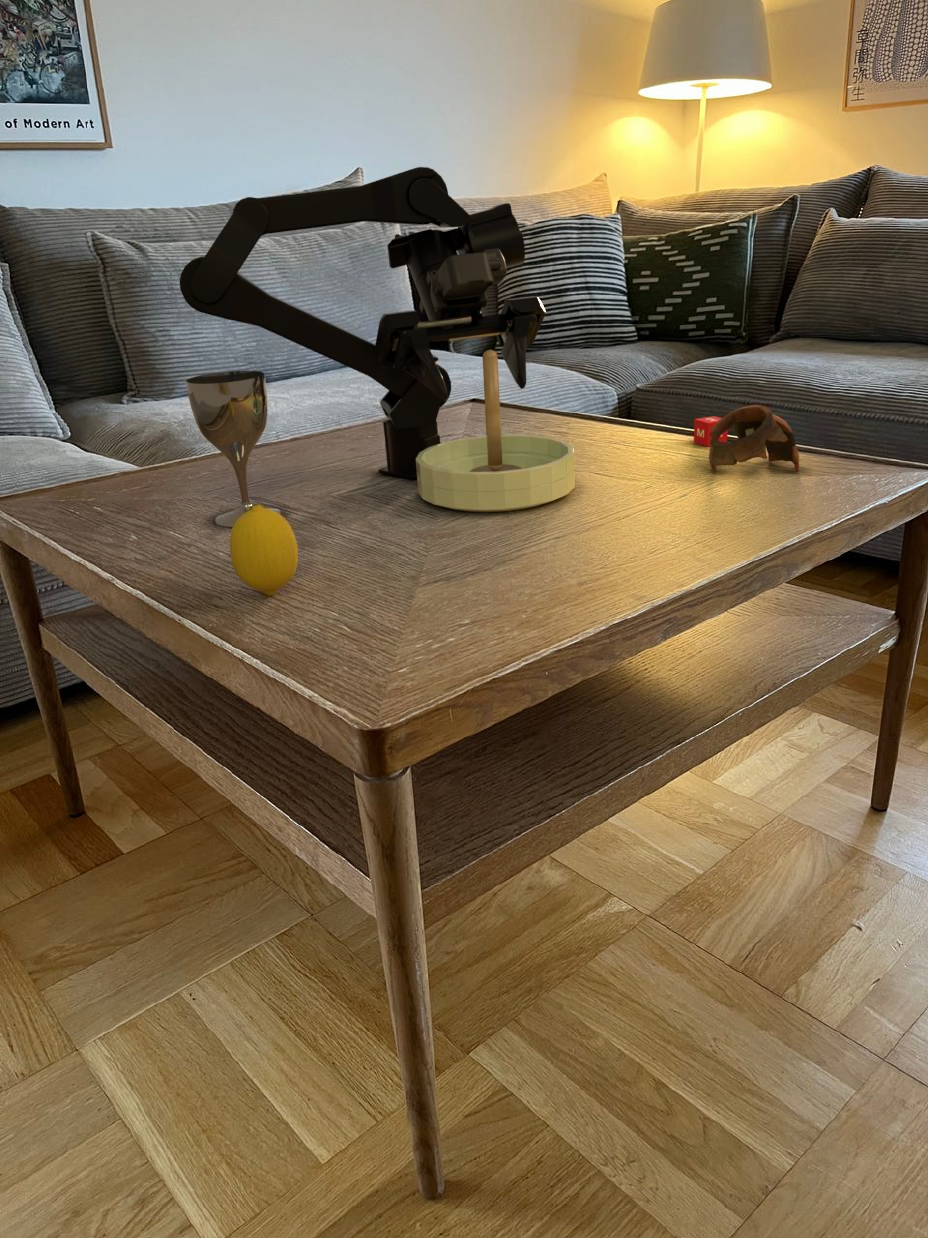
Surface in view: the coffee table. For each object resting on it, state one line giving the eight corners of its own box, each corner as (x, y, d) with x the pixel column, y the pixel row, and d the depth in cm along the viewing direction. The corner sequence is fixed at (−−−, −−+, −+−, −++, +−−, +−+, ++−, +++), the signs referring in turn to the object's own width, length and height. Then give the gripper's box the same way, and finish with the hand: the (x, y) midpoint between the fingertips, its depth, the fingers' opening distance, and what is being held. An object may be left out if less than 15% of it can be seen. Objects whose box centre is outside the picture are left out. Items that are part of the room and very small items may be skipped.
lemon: (243, 586, 80) (227, 498, 77) (306, 580, 81) (293, 493, 77) (233, 610, 75) (217, 518, 72) (301, 604, 76) (287, 512, 72)
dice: (693, 442, 118) (694, 418, 117) (713, 439, 119) (714, 415, 118) (707, 446, 115) (708, 423, 114) (727, 443, 116) (728, 419, 115)
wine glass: (297, 507, 102) (278, 370, 96) (261, 529, 95) (237, 383, 89) (236, 504, 104) (214, 370, 98) (196, 526, 98) (169, 384, 92)
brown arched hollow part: (815, 482, 100) (789, 423, 96) (732, 518, 103) (704, 462, 99) (790, 431, 109) (766, 374, 105) (715, 466, 113) (689, 412, 108)
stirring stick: (460, 493, 101) (450, 353, 95) (484, 479, 106) (477, 345, 99) (508, 498, 98) (502, 354, 92) (532, 483, 103) (527, 345, 97)
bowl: (387, 500, 102) (383, 461, 100) (487, 465, 114) (485, 429, 112) (508, 525, 91) (506, 481, 90) (605, 483, 103) (605, 444, 101)
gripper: (370, 231, 93) (416, 354, 88) (534, 217, 99) (586, 331, 94) (358, 307, 103) (399, 421, 98) (508, 290, 109) (554, 397, 104)
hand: (485, 391), depth 98 cm, fingers open, 9 cm apart
